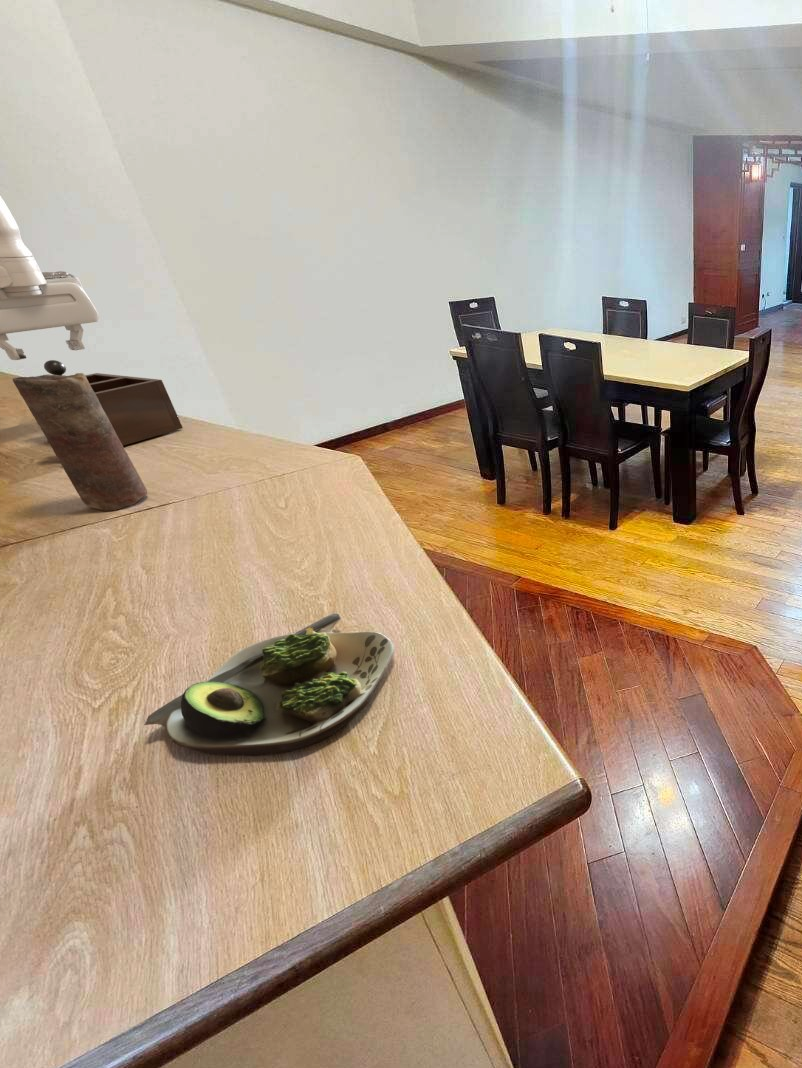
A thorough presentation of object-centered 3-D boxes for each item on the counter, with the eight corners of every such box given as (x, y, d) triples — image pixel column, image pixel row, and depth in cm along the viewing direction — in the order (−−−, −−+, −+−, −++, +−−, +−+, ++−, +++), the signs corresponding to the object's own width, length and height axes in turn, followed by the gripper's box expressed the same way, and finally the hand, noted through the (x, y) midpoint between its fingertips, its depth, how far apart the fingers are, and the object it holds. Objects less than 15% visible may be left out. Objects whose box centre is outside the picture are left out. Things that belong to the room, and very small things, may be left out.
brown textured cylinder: (72, 508, 91) (-4, 377, 81) (125, 490, 97) (61, 366, 87) (110, 515, 89) (38, 382, 80) (161, 496, 96) (100, 371, 86)
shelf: (43, 439, 114) (2, 366, 107) (117, 420, 125) (84, 353, 118) (114, 448, 112) (77, 374, 105) (183, 428, 123) (153, 360, 116)
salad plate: (267, 626, 68) (252, 593, 66) (426, 626, 69) (417, 593, 67) (125, 760, 51) (98, 722, 49) (338, 757, 52) (322, 720, 50)
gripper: (60, 269, 115) (97, 343, 122) (-85, 278, 97) (-33, 363, 104) (87, 271, 114) (122, 345, 121) (-56, 280, 96) (-5, 366, 103)
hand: (49, 354), depth 112 cm, fingers open, 8 cm apart
